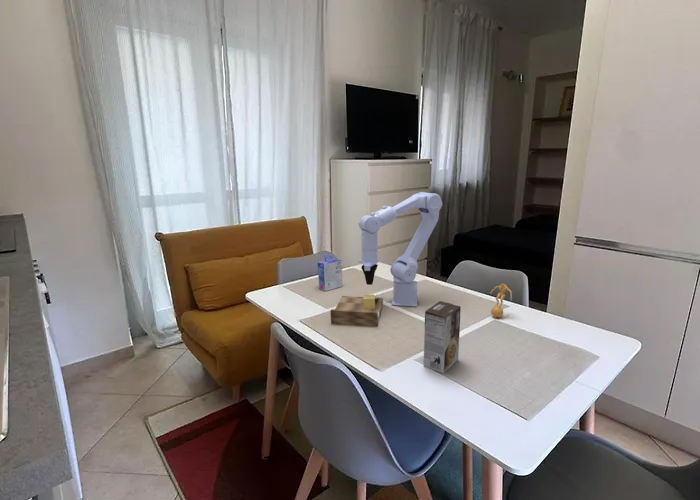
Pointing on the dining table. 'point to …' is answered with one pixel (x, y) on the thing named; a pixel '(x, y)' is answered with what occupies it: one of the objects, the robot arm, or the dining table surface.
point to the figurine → (497, 310)
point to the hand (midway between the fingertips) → (369, 284)
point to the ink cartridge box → (330, 273)
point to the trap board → (356, 312)
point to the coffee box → (441, 336)
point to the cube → (368, 302)
